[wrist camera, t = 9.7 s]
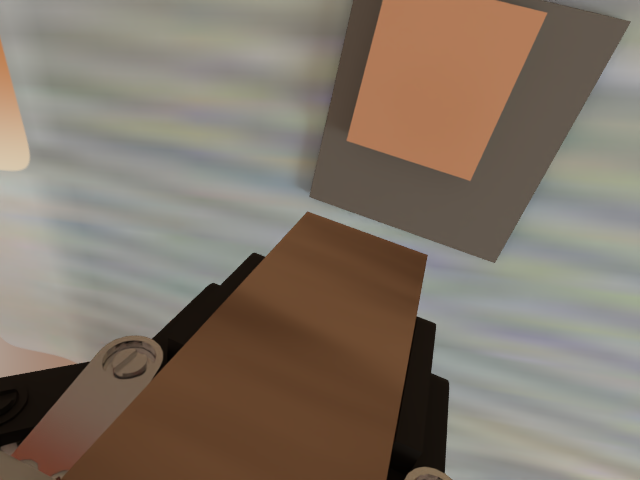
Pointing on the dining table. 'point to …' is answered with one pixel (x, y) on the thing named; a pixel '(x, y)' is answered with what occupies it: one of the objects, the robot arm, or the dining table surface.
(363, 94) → the tile
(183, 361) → the block
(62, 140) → the dining table surface
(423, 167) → the mat
